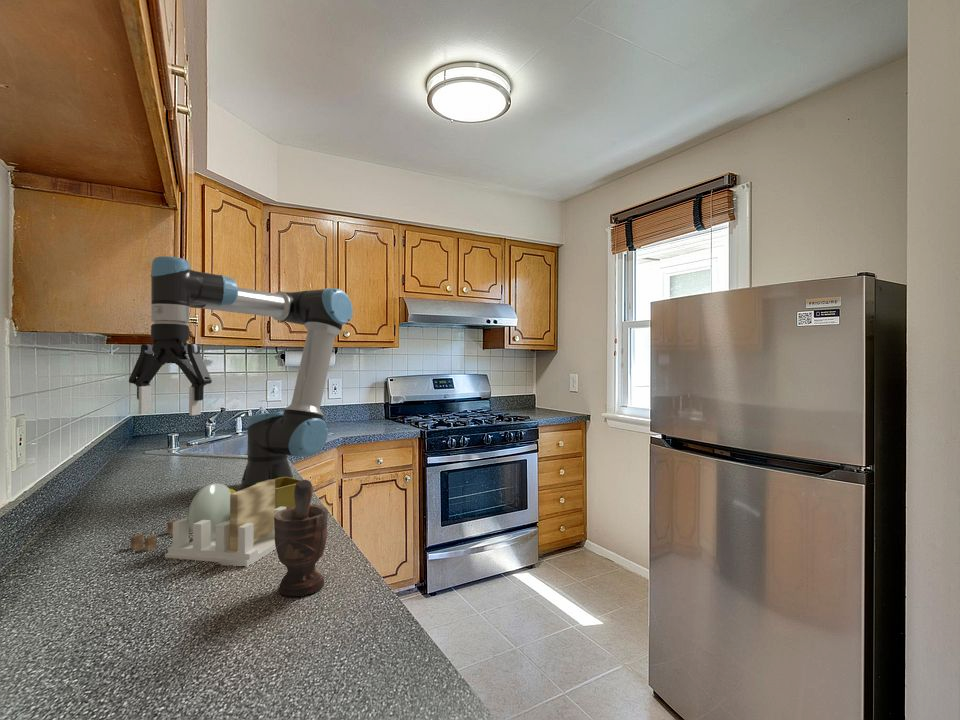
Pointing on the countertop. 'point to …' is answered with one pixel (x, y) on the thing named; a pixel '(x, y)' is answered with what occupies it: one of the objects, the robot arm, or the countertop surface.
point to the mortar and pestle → (301, 542)
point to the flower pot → (284, 491)
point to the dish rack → (219, 543)
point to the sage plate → (210, 506)
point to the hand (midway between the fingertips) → (169, 414)
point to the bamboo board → (252, 510)
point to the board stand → (149, 539)
